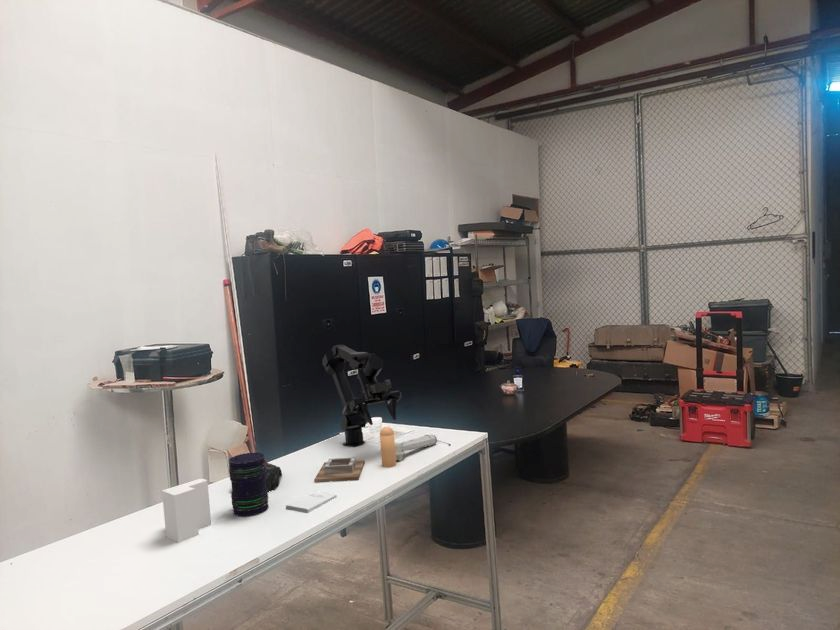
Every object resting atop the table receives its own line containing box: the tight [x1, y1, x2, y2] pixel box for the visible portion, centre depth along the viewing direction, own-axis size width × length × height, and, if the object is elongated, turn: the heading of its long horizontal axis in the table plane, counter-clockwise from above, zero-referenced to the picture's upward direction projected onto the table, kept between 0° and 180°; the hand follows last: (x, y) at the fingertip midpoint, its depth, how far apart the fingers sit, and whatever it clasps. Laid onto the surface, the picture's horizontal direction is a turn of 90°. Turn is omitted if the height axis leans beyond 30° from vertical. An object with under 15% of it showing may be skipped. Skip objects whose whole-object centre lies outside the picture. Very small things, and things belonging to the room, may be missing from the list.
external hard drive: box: [285, 490, 338, 514], centre depth 166 cm, size 2×8×12 cm
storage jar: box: [228, 452, 269, 518], centre depth 164 cm, size 10×10×15 cm
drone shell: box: [265, 460, 283, 493], centre depth 187 cm, size 21×20×8 cm
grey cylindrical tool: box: [395, 434, 438, 462], centre depth 210 cm, size 5×7×25 cm
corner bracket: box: [161, 478, 212, 544], centre depth 153 cm, size 11×11×12 cm
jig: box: [314, 457, 366, 483], centre depth 193 cm, size 18×14×3 cm
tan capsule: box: [379, 426, 397, 468], centre depth 197 cm, size 5×5×13 cm
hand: (383, 422), depth 205 cm, fingers open, 9 cm apart
